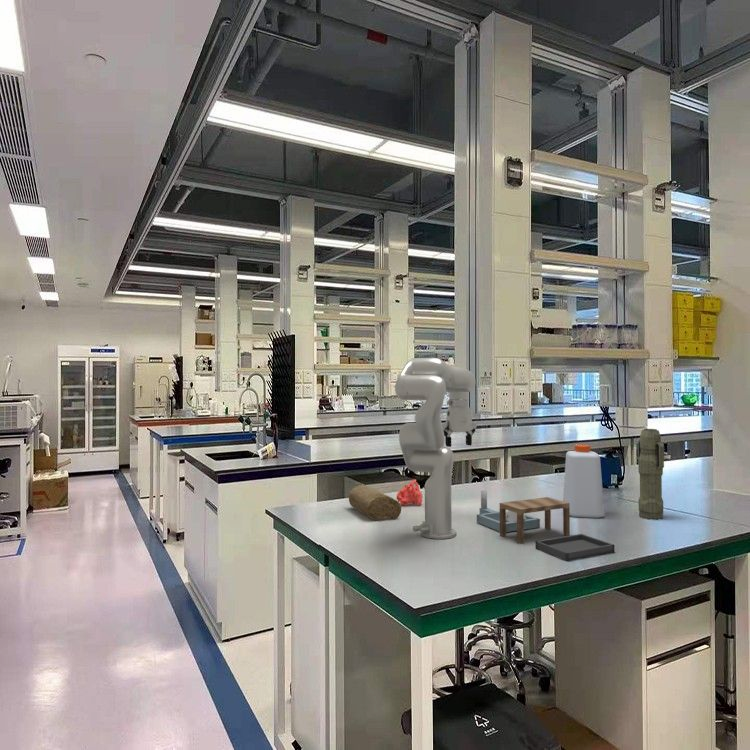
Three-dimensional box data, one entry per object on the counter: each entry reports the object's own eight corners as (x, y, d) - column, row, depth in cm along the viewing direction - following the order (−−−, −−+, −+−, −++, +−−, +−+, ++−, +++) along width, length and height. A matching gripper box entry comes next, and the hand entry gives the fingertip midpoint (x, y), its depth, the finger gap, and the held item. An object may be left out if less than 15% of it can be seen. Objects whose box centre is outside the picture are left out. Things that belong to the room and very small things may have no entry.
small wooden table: (520, 543, 189) (519, 509, 189) (499, 535, 199) (499, 503, 199) (569, 535, 198) (569, 503, 198) (547, 528, 208) (547, 497, 208)
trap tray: (566, 561, 171) (566, 553, 171) (535, 548, 184) (535, 541, 184) (614, 552, 179) (614, 544, 179) (581, 540, 192) (581, 533, 192)
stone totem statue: (656, 521, 216) (656, 431, 217) (630, 515, 227) (630, 428, 227) (672, 519, 220) (671, 430, 220) (645, 512, 231) (645, 427, 231)
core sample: (376, 505, 247) (376, 483, 247) (402, 519, 223) (402, 494, 223) (346, 508, 242) (346, 485, 242) (369, 523, 217) (369, 497, 217)
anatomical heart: (395, 509, 246) (391, 482, 249) (417, 506, 252) (413, 480, 255) (406, 507, 239) (402, 480, 241) (429, 504, 245) (424, 477, 248)
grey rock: (499, 526, 214) (495, 509, 209) (516, 513, 216) (512, 496, 211) (514, 538, 207) (510, 521, 202) (532, 525, 210) (528, 508, 205)
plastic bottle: (606, 519, 221) (605, 448, 221) (566, 517, 224) (565, 447, 224) (599, 510, 236) (598, 443, 236) (561, 508, 239) (560, 442, 239)
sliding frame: (539, 527, 209) (539, 500, 209) (502, 532, 202) (502, 504, 202) (499, 512, 231) (499, 488, 231) (464, 517, 223) (464, 492, 224)
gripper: (445, 404, 221) (445, 448, 221) (481, 403, 228) (481, 445, 228) (435, 403, 228) (435, 446, 228) (470, 402, 235) (471, 443, 235)
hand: (458, 445), depth 228 cm, fingers open, 9 cm apart
